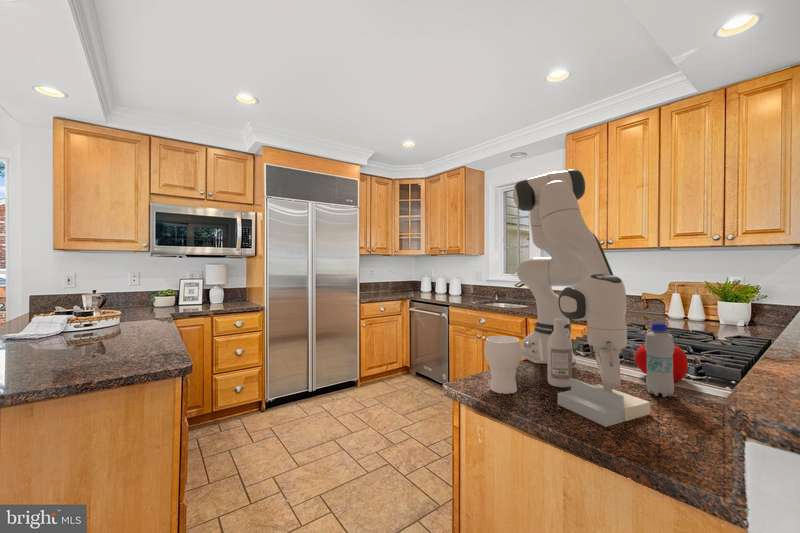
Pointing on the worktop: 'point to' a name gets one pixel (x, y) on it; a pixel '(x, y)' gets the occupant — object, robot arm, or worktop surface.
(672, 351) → the bottle
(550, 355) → the bath foam
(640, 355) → the tomato
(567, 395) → the stepped block
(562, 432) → the worktop surface
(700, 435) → the worktop surface
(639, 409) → the cream slotted block
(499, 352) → the cup
